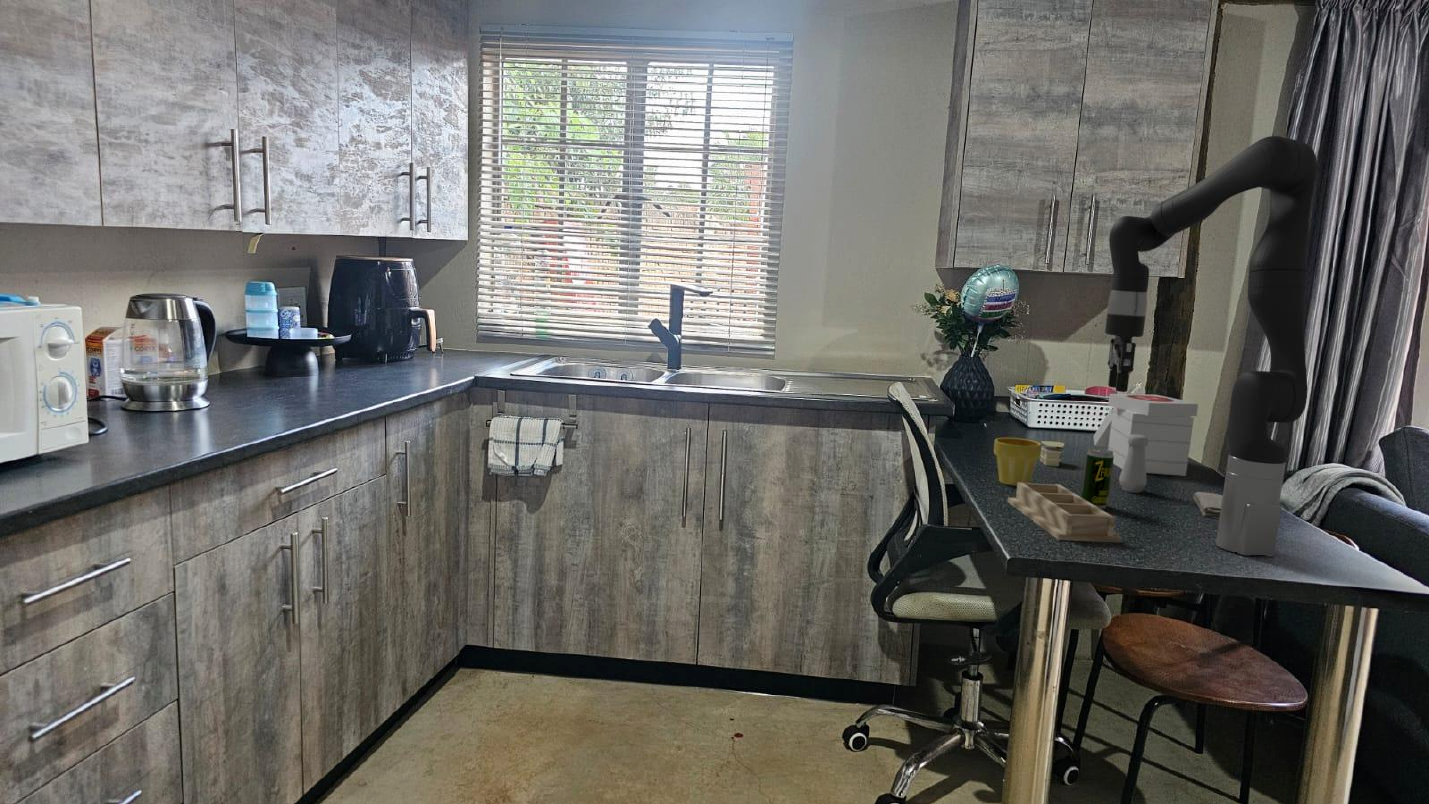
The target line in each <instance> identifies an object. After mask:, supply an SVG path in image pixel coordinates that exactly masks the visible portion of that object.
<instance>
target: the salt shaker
mask: <svg viewBox="0 0 1429 804" xmlns="http://www.w3.org/2000/svg"><path fill="white" fill-rule="evenodd" d="M1128 444H1129V445H1131V446H1130V449H1129V451H1128V454H1127V457H1126V460H1125V463H1124V466H1123V469H1121V472H1120V475H1119V478H1118V481H1119V484H1120V487H1121V490H1122V491H1124V492H1127V493H1132V494H1133V493H1134V494H1139V493H1142V492H1143V491H1144V488H1145V487H1146V485H1147V482H1148V479H1147V473H1146V462H1145V447H1146V446H1147V445H1148V438H1147V437H1146V436H1143V435H1136V434H1134V435H1130V436H1129V437H1128Z"/></svg>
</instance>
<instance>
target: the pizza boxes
mask: <svg viewBox="0 0 1429 804" xmlns="http://www.w3.org/2000/svg"><path fill="white" fill-rule="evenodd" d="M1108 396H1109V397H1108V403H1107V405H1108V407H1112V408H1110V410H1109V412H1108V413H1107V414H1106V416H1105V417H1104V419H1103V421H1102V422H1101V423H1100V425H1099V427H1098V429H1097V430H1096V431H1095V433H1094V435H1093V443H1094V444H1093V445H1094V447H1102V448H1104V447H1106V448H1107V450H1110V451H1113V456H1114V460H1113V465H1115V466H1117V467H1118V468H1120V469H1121V470H1122V469H1123V466H1124V463H1125V460H1126V457H1127V454H1128V451H1129V449H1130V446H1131V445H1129V444H1128V437H1129V436H1130V435H1134V434H1136V435H1143V436H1146V437H1147V438H1148V445H1147V446H1146V447H1145V462H1146V474H1158V475H1170V476H1171V475H1172V476H1183V477H1184V476H1185V477H1186V476H1187V469H1188V463H1189V455H1190V449H1191V447H1190V446H1191V440H1192V434H1193V428H1194V427H1193V426H1194V421H1195V418H1194V417H1197V415H1198V408H1199V407H1198V406H1199V403H1197V402H1192V401H1191V402H1190V401H1187V400H1183V399H1177V398H1174V397H1169V396H1165V395H1160V394H1141V393H1140V394H1138V393H1136V394H1135V393H1132V394H1131V393H1109V395H1108Z"/></svg>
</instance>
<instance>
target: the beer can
mask: <svg viewBox="0 0 1429 804" xmlns="http://www.w3.org/2000/svg"><path fill="white" fill-rule="evenodd" d="M1113 460H1114V456H1113V451H1110V450H1108V449H1105V448H1099V447H1090V448H1089V447H1088V451H1087V452H1086V458H1085V465H1084V472H1083V481H1082V482H1083V483H1082V489H1081V496H1080V497H1081V498H1083V499H1085V500H1086V501H1088V502H1090V503H1091V504H1093V505H1095V506H1096V507H1098V508H1100V509H1101V510H1103V509H1106V507H1107V506H1108V504H1109V499H1110V489H1111V484H1112V483H1111V482H1112V475H1113V467H1114V463H1113Z"/></svg>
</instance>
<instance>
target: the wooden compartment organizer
mask: <svg viewBox="0 0 1429 804" xmlns="http://www.w3.org/2000/svg"><path fill="white" fill-rule="evenodd" d="M1007 503H1008V504H1009V503H1010V506H1012V507H1013V508H1014V509H1016V510H1018V511H1019V512H1020V511H1021V512H1020V513H1022V514H1023V515H1024V516H1026V517H1027V518H1029V520H1031V521H1032V520H1033V521H1032V522H1034V523H1035V524H1036V525H1038V526H1039V527H1040V528H1042V529H1043V530H1044V531H1046V532H1047V533H1048V534H1049V535H1051V536H1052V537H1053V538H1055V539H1056V540H1058V541H1076V542H1077V541H1078V542H1094V543H1095V542H1099V543H1100V542H1101V543H1116V544H1118V543H1119V544H1120V543H1122V542H1123V536H1121V535H1119V534H1118V533H1116V532H1115V526H1116V519H1117V518H1116V517H1115V516H1113V515H1111V514H1110V513H1108V512H1106V511H1104V510H1103V509H1100V508H1098V507H1096V506H1095V505H1093V504H1091V503H1090V502H1088V501H1086V500H1085V499H1083V498H1081V496H1079V495H1078V494H1076V493H1075V492H1073V491H1071V490H1069V489H1068V488H1067V487H1065V486H1063V485H1061V484H1060V483H1055V484H1054V483H1051V484H1050V483H1049V484H1048V483H1034V482H1032V483H1031V482H1030V483H1022V482H1018V483H1017V486H1016V492H1015V497H1007Z"/></svg>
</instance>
